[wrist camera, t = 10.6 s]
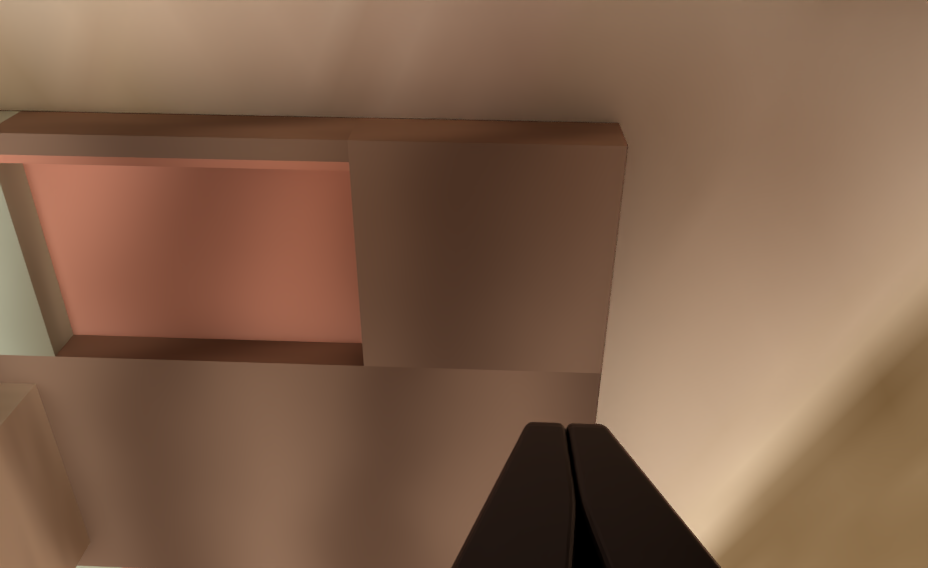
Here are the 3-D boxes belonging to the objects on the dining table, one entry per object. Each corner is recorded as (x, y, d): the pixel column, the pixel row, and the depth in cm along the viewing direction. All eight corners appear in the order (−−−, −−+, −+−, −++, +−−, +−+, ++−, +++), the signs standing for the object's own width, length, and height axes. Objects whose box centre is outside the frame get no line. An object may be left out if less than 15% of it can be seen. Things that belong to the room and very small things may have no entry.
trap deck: (618, 122, 18) (636, 167, 16) (559, 662, 28) (564, 738, 26) (-348, 103, 19) (-469, 143, 16) (-66, 635, 29) (-116, 706, 26)
